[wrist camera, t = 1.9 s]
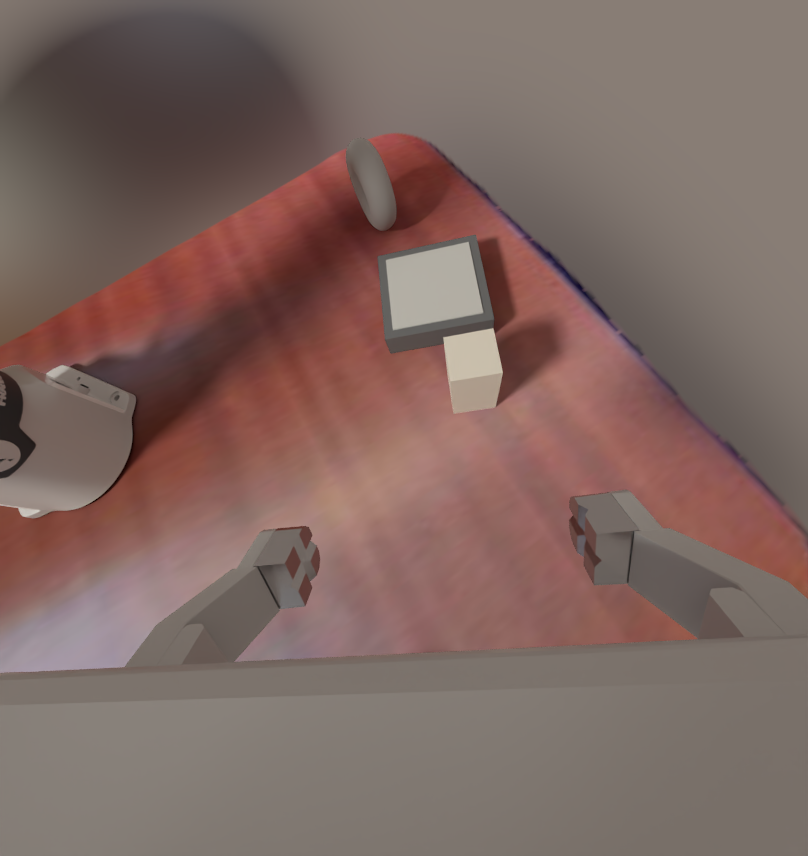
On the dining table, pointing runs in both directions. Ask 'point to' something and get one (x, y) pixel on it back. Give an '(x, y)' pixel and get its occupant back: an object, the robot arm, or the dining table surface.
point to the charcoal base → (433, 294)
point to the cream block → (473, 370)
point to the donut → (371, 183)
